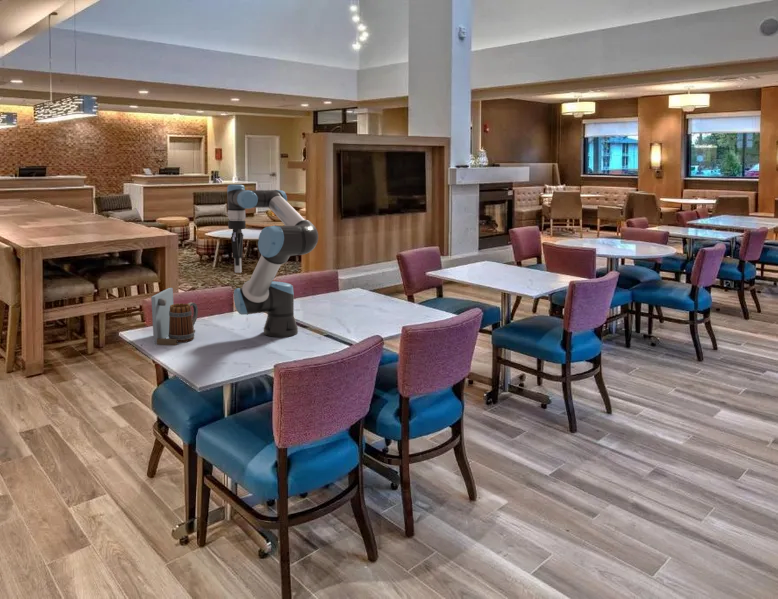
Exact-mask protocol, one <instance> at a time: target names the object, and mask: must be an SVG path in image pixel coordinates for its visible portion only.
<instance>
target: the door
mask: <svg viewBox="0 0 778 599" xmlns="http://www.w3.org/2000/svg"><path fill="white" fill-rule="evenodd" d="M150 300H151V314H152V315H151V317H152V334H153V344H155V345H157V338H169V318H170V316H169V311H170V305H173V304H174V289H173V287H168V288H166V289H164V290H162V291H159V292H158V293H156V294H154V295H152V296H151V298H150Z"/></svg>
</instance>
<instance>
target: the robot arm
mask: <svg viewBox="0 0 778 599" xmlns="http://www.w3.org/2000/svg"><path fill="white" fill-rule="evenodd" d="M226 194H227V195H226V196H227V197H226V198H227V212H226V214H227V219H228V221H227V227H228V229H229V230H232V233H231V236H230V241H231V249H232V250H231V251H232V259H234V261H233V262H234V273H237V274H239V273H242V258H244V256H243V249H244V248H243V247H244V246H243V244H244V233H243V232H242V230H245V229H246V228H247V227H246V226H247V225H246V209H254V208H255V209H258V208H262V209H263V208H264V209H266V208H267V209H270V210H271V211H272V213H273V214H274V215H275V216H276V217H277V218H278V219H279V220H280V221H281V223H283V225H272V226H265V227H264V228H263V229H262V230H261V231H260V232H259V235H258V240H257V247H258V251H259V254H260V257H259V259H258V262H257V264H256V266H255V267H254V270H253V272H252V274H251V276H250V279H248V280H247V281H245V283H243V285H242V287H238V288H234V290H233V302H234V306H235V309H236V311H237V313H238V314H239V315H242V316H243V315H254V314H261V313H262V314H263V313H267V317H266V321H265V324H264V327H263V334H264V335H265V336H268V337H273V338H274V337H275V338H285V337H286V338H287V337H292V336H295V335H297V334H298V332H299V327H298V325H297V322H296V319H295V315H294V314H295V313H294V311H295V308H294V307H295V306H294V303H295V302H294V300H295V298H294V296H295V293H294V285H292V284H291V283H289V282H285V281H284V282H283V281H275V280H274V279H275V278H276V275H277V273H278V272H279V269H281V266H282V265H284V264H285V263H287V262H288V260H289V258H290V257H291V256H302V255H307V254H309V253H311V252H312V251H314V249H315V248H316V246H317V244H318V242H319V232H318V229H317V227H316V226H315V225H314V224H313V223H312V221H310V220H308V219H305V218H304V217H303V216H302V215H301V214H300V213H299V212H298V211H297V210H296V208H294V207H293V206H292V205H291V204H290V203H289V202H288V195H287V193H286V192H285V191H284V190H282V189H281V190H279V189H267V190H266V189H262V190H260V189H259V190H258V189H246V188H245V185H243V184H228V185H227V190H226Z"/></svg>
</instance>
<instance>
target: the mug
mask: <svg viewBox="0 0 778 599" xmlns="http://www.w3.org/2000/svg"><path fill="white" fill-rule="evenodd" d="M191 308H192V309H193V312H192V309H191ZM198 313H199V310H198V306H197V303H196V302H188V303H173V305H170V311H169V316H170V318H169V336H168V338H171V339H177V344H178V343H188V342H192V341H193V340H194V339H195V333H196V329H194V330H193V326H195V324H196V322H197V318H198Z"/></svg>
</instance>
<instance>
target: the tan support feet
mask: <svg viewBox="0 0 778 599" xmlns="http://www.w3.org/2000/svg"><path fill="white" fill-rule="evenodd" d="M194 326H195V325H194ZM194 326H193V330H195V329H194V328H195V327H194ZM177 345H178V342H177V339H171V338H169V337H167V338H157V344H156V346H177Z"/></svg>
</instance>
